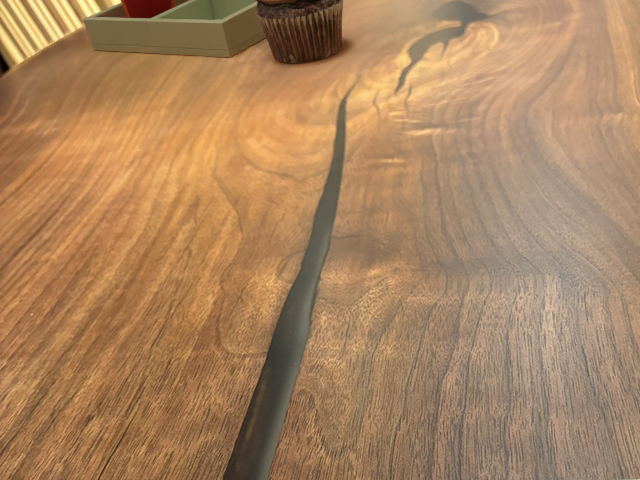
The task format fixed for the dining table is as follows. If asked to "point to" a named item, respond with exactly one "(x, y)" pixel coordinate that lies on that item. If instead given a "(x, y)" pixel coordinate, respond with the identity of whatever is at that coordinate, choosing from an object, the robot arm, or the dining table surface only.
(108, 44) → the holder
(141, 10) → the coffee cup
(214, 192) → the dining table surface
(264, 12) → the cupcake
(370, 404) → the dining table surface
